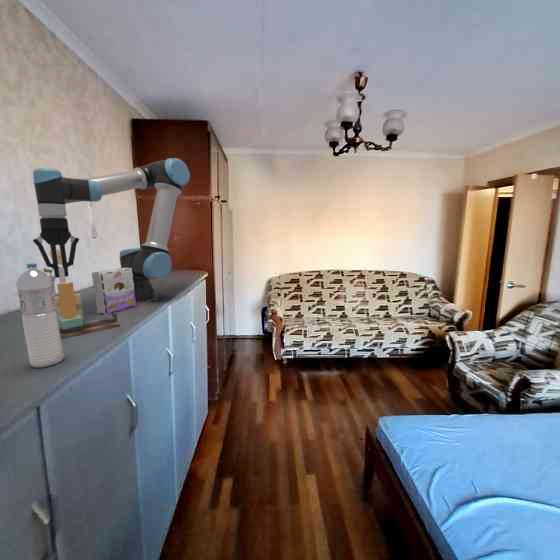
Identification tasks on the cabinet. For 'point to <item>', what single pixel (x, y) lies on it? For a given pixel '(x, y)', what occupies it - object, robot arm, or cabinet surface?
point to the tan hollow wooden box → (77, 300)
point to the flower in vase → (53, 268)
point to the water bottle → (39, 317)
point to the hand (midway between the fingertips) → (63, 286)
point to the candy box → (114, 290)
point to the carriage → (68, 306)
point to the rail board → (88, 330)
